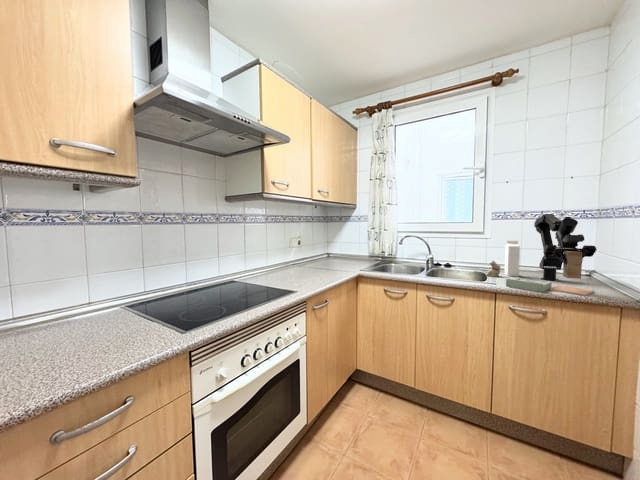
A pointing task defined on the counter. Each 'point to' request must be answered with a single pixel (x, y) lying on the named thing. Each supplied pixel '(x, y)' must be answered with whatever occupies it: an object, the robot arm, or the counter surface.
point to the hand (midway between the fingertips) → (573, 264)
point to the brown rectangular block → (572, 264)
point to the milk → (512, 258)
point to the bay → (528, 285)
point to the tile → (572, 290)
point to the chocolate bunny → (493, 270)
